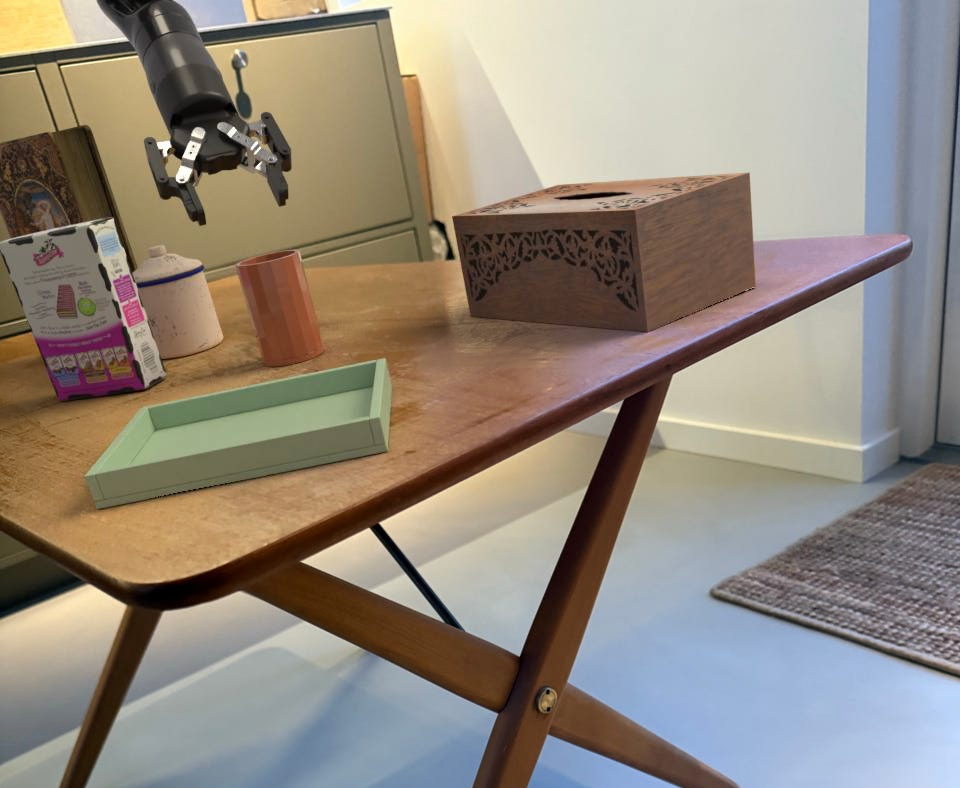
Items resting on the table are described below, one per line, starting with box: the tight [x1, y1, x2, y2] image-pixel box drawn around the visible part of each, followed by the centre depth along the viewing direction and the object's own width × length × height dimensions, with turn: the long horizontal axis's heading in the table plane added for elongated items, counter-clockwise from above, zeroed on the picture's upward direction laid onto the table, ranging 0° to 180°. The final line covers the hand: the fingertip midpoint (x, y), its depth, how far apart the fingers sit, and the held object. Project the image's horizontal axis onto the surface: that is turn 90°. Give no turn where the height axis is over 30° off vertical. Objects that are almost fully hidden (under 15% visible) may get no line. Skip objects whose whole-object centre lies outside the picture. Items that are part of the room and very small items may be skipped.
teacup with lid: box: [132, 244, 224, 360], centre depth 119 cm, size 12×9×12 cm
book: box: [0, 124, 139, 273], centre depth 126 cm, size 16×6×25 cm, turn 56°
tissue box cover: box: [451, 172, 757, 333], centre depth 100 cm, size 26×14×10 cm, turn 38°
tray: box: [83, 357, 393, 510], centre depth 81 cm, size 22×18×3 cm
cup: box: [234, 249, 325, 367], centre depth 105 cm, size 6×6×10 cm
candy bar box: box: [0, 217, 168, 402], centre depth 106 cm, size 11×5×16 cm, turn 76°
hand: (242, 210), depth 105 cm, fingers open, 8 cm apart
